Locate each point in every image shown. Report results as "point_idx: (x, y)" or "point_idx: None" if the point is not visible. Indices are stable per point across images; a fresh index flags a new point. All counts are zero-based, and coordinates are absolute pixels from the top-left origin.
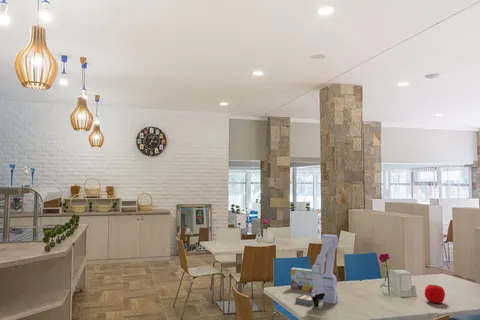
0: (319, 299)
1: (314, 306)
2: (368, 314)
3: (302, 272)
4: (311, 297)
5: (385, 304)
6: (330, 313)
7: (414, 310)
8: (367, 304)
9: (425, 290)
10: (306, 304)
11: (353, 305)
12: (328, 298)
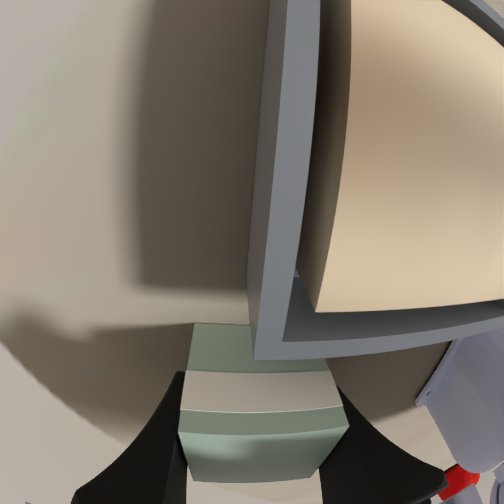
0: (314, 460)
1: (174, 376)
2: (289, 500)
3: None
4: (85, 485)
5: (438, 459)
6: None
7: None
8: (438, 446)
9: (464, 482)
10: (254, 197)
11: (421, 440)
12: (469, 397)
